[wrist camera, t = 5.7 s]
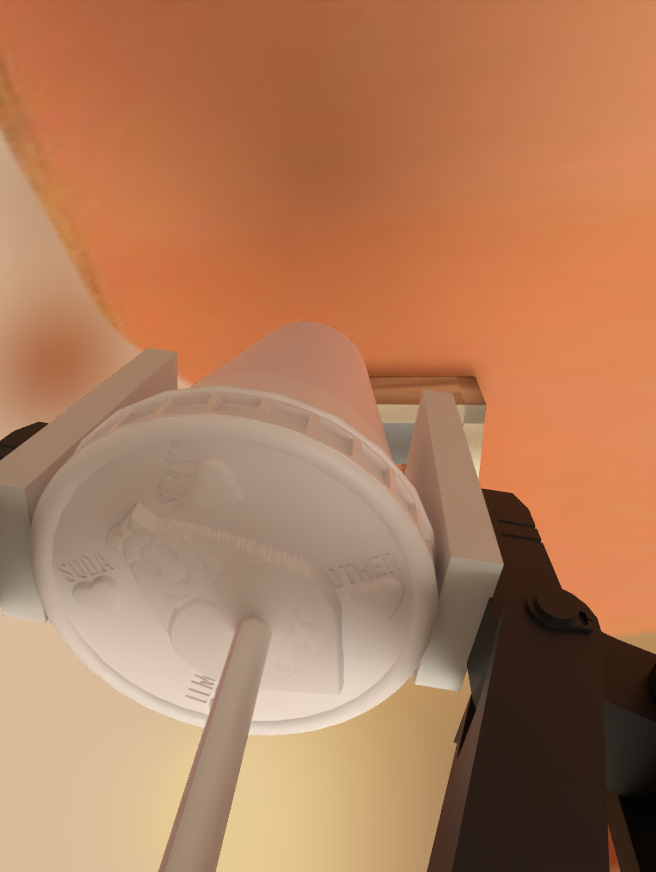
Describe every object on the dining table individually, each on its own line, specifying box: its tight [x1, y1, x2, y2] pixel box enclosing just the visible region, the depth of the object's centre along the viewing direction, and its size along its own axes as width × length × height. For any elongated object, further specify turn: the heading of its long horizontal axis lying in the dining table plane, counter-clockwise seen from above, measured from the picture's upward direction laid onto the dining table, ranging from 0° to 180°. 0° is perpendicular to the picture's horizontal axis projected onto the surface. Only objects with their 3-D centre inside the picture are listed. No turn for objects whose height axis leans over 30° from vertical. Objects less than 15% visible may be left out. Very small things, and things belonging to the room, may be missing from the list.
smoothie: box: [29, 321, 438, 872], centre depth 11 cm, size 6×6×14 cm
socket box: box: [369, 377, 486, 478], centre depth 38 cm, size 18×16×4 cm
